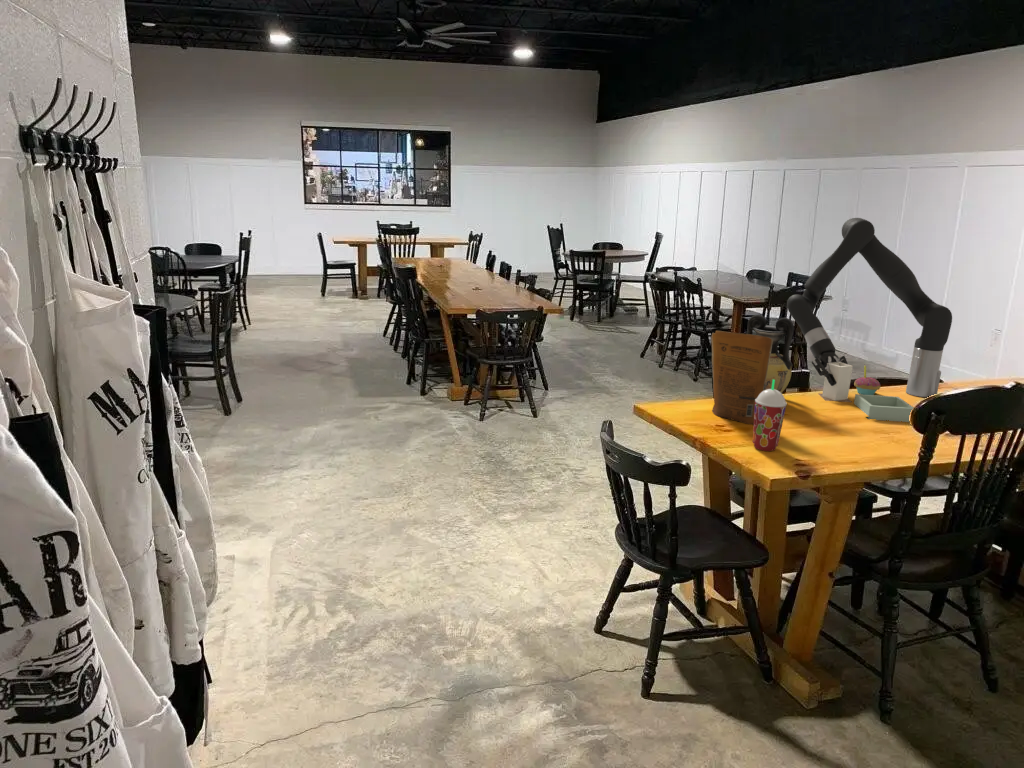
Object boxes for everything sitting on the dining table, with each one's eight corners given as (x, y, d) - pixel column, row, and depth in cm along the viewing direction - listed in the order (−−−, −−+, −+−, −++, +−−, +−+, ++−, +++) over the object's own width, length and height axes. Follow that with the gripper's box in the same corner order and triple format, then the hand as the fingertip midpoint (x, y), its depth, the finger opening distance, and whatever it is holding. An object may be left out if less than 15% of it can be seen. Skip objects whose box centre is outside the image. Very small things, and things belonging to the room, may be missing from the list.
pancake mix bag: (757, 428, 222) (768, 338, 215) (701, 413, 235) (710, 328, 228) (767, 423, 227) (778, 336, 220) (712, 409, 240) (721, 326, 232)
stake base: (843, 398, 259) (847, 373, 256) (851, 405, 250) (856, 379, 248) (817, 396, 260) (820, 371, 257) (824, 403, 251) (828, 378, 249)
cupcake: (858, 399, 258) (863, 366, 255) (848, 392, 266) (853, 360, 263) (882, 400, 258) (888, 367, 255) (872, 393, 266) (877, 361, 263)
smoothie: (785, 448, 206) (795, 380, 200) (771, 455, 200) (781, 385, 195) (758, 440, 211) (766, 374, 206) (743, 447, 206) (752, 378, 200)
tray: (896, 409, 247) (898, 396, 246) (913, 422, 234) (915, 408, 233) (853, 406, 249) (855, 394, 247) (867, 419, 235) (870, 406, 234)
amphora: (729, 403, 248) (740, 316, 240) (739, 392, 262) (749, 309, 254) (784, 412, 240) (796, 322, 232) (791, 400, 254) (803, 315, 246)
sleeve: (834, 394, 258) (839, 361, 255) (847, 399, 253) (852, 365, 250) (822, 396, 256) (827, 363, 253) (835, 400, 251) (840, 366, 248)
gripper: (811, 338, 253) (832, 380, 246) (841, 336, 259) (863, 377, 251) (797, 350, 259) (818, 391, 252) (827, 347, 265) (849, 387, 257)
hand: (841, 383), depth 252 cm, fingers closed on sleeve, 5 cm apart
